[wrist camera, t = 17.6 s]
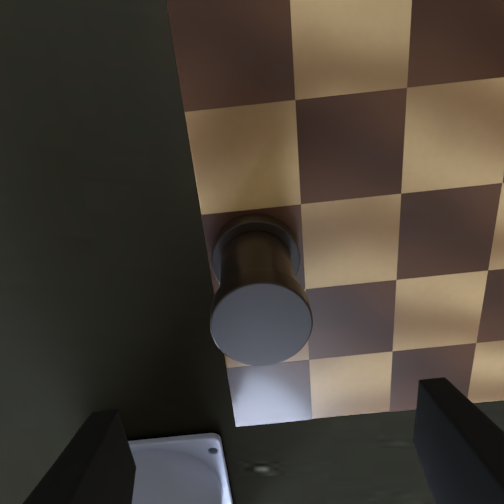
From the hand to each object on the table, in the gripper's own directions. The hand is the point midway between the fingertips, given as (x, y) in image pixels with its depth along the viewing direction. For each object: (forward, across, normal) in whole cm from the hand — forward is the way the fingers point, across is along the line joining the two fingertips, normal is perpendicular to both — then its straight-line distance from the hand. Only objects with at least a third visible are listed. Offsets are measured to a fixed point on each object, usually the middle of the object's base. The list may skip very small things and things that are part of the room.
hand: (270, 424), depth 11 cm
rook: (+9, 0, 0) cm, 9 cm away
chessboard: (+10, -6, 0) cm, 12 cm away
